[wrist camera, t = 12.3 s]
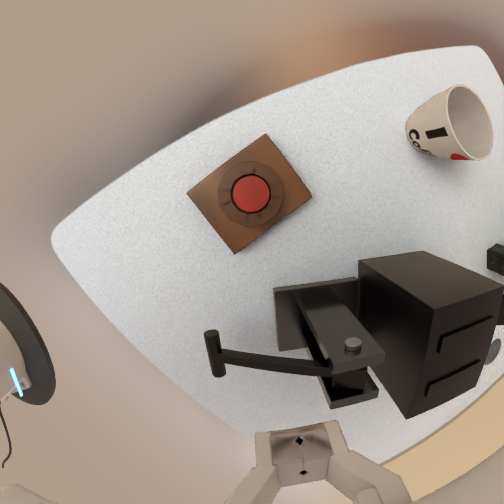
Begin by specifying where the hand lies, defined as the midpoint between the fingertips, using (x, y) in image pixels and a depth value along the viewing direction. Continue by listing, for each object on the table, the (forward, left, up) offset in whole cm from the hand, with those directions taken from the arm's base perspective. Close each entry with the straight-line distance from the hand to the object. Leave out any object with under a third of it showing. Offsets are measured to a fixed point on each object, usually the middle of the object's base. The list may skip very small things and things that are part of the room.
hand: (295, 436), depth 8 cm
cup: (+27, +1, -23) cm, 36 cm away
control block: (+4, +7, -23) cm, 24 cm away
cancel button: (+4, +7, -20) cm, 21 cm away
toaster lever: (-2, -6, -15) cm, 16 cm away
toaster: (+11, -14, -23) cm, 29 cm away
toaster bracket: (+2, -9, -23) cm, 25 cm away
